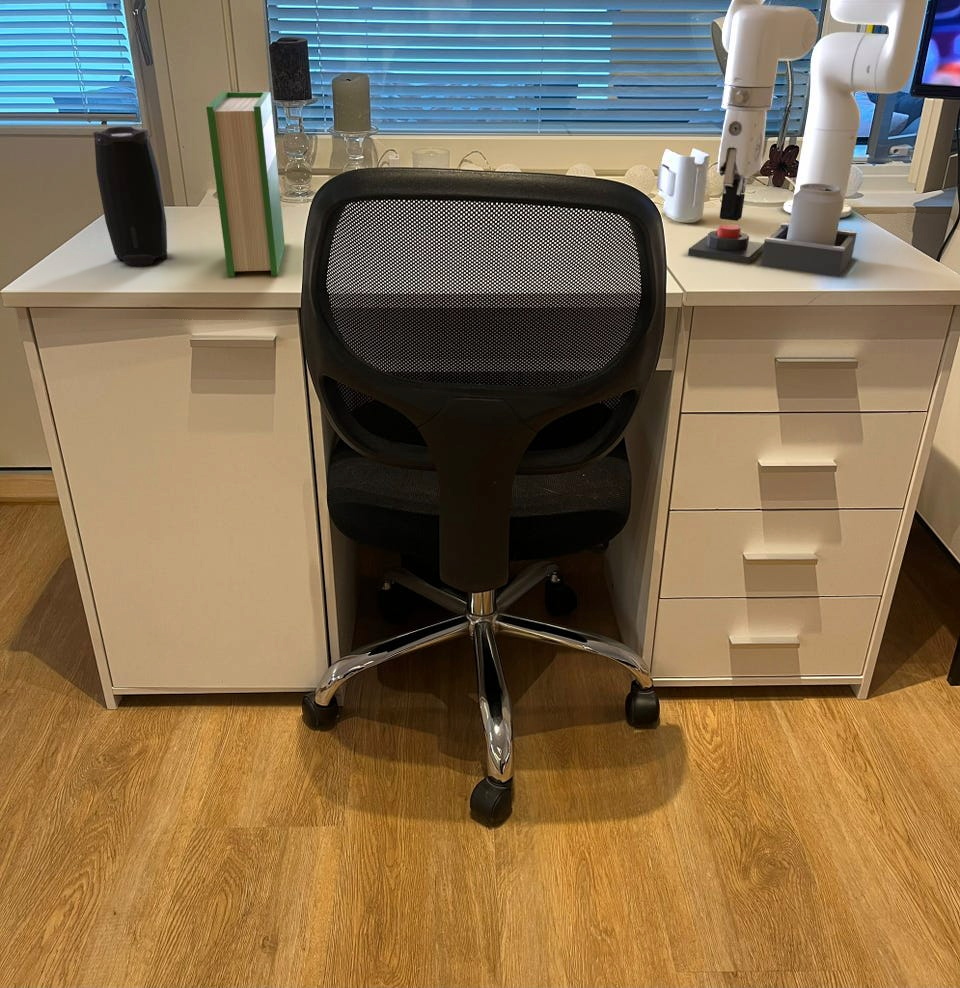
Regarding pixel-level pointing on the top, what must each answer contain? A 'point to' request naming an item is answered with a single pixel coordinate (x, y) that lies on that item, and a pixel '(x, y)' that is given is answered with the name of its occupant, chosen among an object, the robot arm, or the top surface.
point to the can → (815, 214)
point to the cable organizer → (683, 184)
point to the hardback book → (247, 180)
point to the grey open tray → (808, 253)
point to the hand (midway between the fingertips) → (730, 218)
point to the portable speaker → (131, 195)
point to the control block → (726, 248)
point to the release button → (729, 231)
